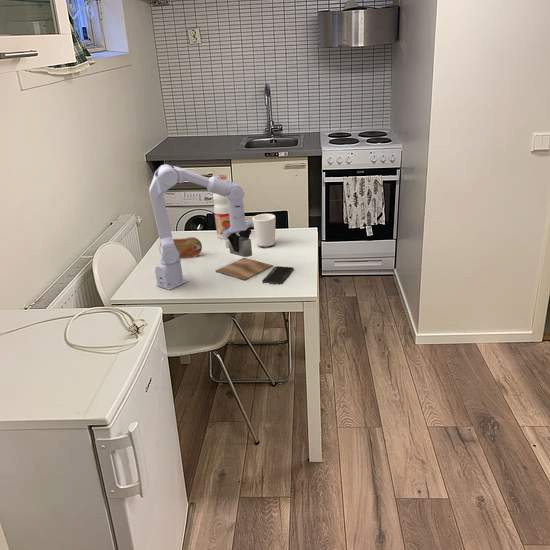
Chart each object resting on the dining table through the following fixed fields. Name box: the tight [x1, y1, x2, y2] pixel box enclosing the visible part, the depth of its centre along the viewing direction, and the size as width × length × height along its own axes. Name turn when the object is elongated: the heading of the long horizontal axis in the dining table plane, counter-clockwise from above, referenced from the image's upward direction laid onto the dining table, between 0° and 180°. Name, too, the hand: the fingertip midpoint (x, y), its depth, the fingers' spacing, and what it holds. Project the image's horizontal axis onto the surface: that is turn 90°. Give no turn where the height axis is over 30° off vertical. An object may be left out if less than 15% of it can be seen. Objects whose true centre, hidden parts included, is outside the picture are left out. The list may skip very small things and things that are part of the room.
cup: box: [252, 213, 276, 249], centre depth 243 cm, size 10×10×13 cm
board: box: [215, 257, 274, 281], centre depth 222 cm, size 16×16×1 cm
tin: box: [173, 236, 203, 260], centre depth 238 cm, size 15×3×8 cm, turn 92°
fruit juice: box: [212, 174, 238, 240], centre depth 255 cm, size 9×9×28 cm
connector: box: [224, 237, 253, 258], centre depth 218 cm, size 4×12×6 cm, turn 49°
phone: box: [261, 265, 295, 286], centre depth 213 cm, size 8×1×15 cm
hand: (240, 249), depth 218 cm, fingers closed on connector, 4 cm apart
